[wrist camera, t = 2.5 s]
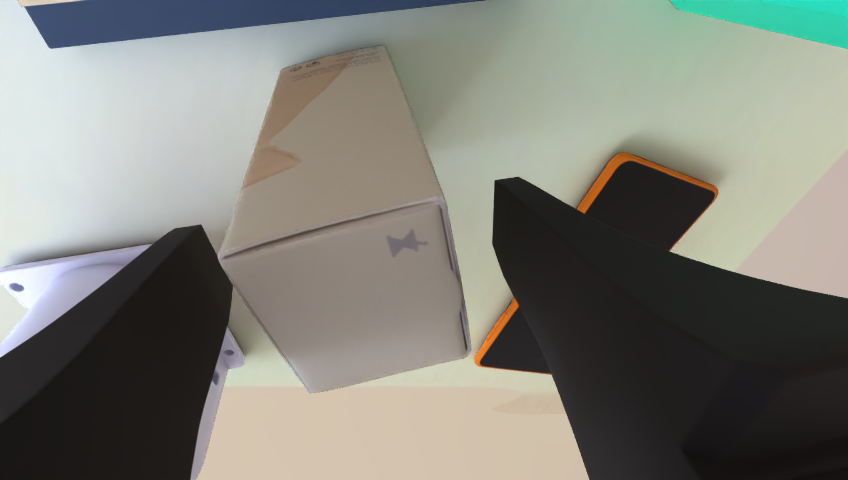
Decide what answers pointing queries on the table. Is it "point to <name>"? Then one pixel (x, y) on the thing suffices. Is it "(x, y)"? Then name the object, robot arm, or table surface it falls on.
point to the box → (346, 229)
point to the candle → (781, 16)
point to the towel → (185, 16)
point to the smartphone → (624, 211)
